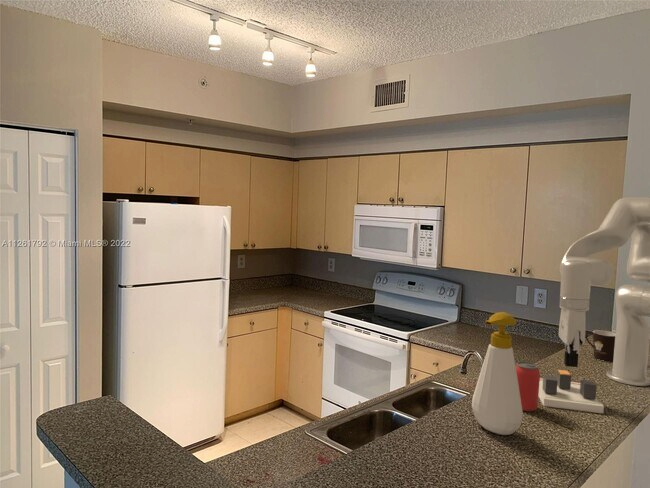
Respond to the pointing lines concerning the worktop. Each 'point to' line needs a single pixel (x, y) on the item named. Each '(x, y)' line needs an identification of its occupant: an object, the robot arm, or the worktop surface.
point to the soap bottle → (498, 383)
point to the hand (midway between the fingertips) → (570, 365)
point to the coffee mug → (603, 344)
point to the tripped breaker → (563, 379)
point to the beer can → (528, 385)
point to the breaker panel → (570, 395)
